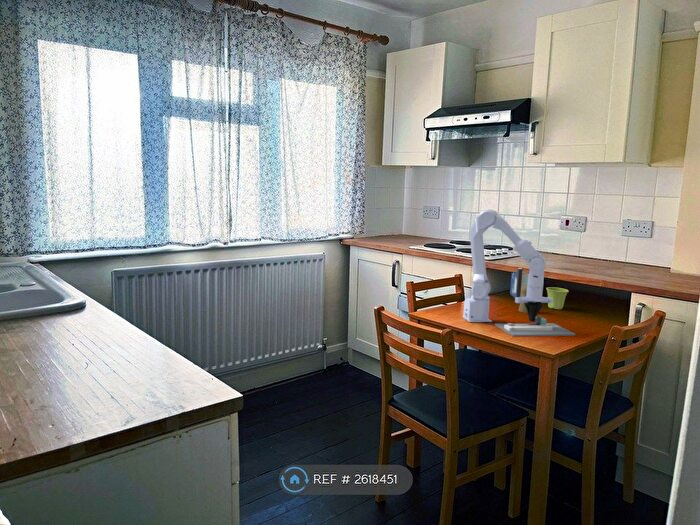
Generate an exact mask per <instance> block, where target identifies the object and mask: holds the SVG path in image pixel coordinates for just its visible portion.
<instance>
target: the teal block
mask: <svg viewBox="0 0 700 525" xmlns="http://www.w3.org/2000/svg"><path fill="white" fill-rule="evenodd" d="M546 323H547V319H546V318H545V317H541V324H546Z"/></svg>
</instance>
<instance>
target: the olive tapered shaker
mask: <svg viewBox="0 0 700 525" xmlns="http://www.w3.org/2000/svg"><path fill="white" fill-rule="evenodd" d="M521 292H522V297H525V296H526V294H527V286H524V287H522V289H521ZM518 312H521V313H526V314H528V312H527V309H526V306H525V304H524V303H519V307H518Z"/></svg>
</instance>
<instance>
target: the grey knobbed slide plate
mask: <svg viewBox="0 0 700 525" xmlns="http://www.w3.org/2000/svg"><path fill="white" fill-rule="evenodd" d="M534 323H535V322H532V323H531V322H530V323H519V322H518V323H515V322H514V323H511V322H507V323H494V326H496V327H497V328H499V329H500V330H501V331H504V332H505V333H506V334H508V335H510V336H512V337H562V336H563V337H566V336H567V337H570V336H571V337H573V336H577V334H576V333H574V332H572V331H570V330H568V329H566V328H564V327H563V326H561V325H558V324H556V323H553V322H550V323H549V322H546V324H548V325H550V326H513V324H534Z"/></svg>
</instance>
